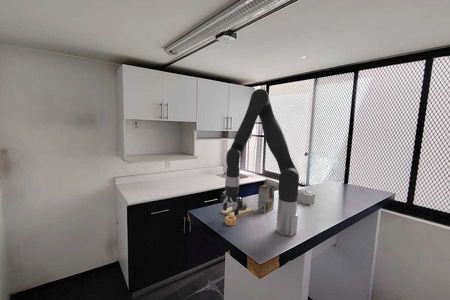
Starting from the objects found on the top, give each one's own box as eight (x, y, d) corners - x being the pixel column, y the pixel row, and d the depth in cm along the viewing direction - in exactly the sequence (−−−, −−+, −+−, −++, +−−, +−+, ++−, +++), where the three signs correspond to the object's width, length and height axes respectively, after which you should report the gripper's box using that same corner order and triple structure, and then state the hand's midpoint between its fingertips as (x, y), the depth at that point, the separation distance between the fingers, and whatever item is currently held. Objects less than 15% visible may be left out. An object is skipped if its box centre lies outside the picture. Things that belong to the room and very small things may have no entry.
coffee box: (265, 207, 144) (266, 183, 142) (273, 209, 139) (275, 185, 137) (257, 210, 137) (258, 185, 135) (265, 213, 133) (267, 188, 131)
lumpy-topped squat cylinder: (308, 205, 149) (309, 193, 149) (292, 200, 159) (293, 189, 158) (315, 202, 156) (316, 191, 155) (299, 197, 166) (300, 187, 165)
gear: (238, 223, 117) (238, 218, 117) (230, 226, 113) (230, 221, 113) (230, 219, 122) (230, 214, 121) (222, 222, 118) (222, 217, 117)
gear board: (253, 211, 134) (254, 201, 134) (234, 219, 123) (235, 207, 122) (239, 206, 143) (239, 196, 142) (220, 212, 131) (221, 201, 131)
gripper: (246, 186, 113) (244, 215, 115) (228, 180, 123) (226, 207, 125) (236, 188, 108) (234, 219, 110) (218, 182, 118) (216, 210, 120)
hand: (230, 212), depth 117 cm, fingers open, 8 cm apart
